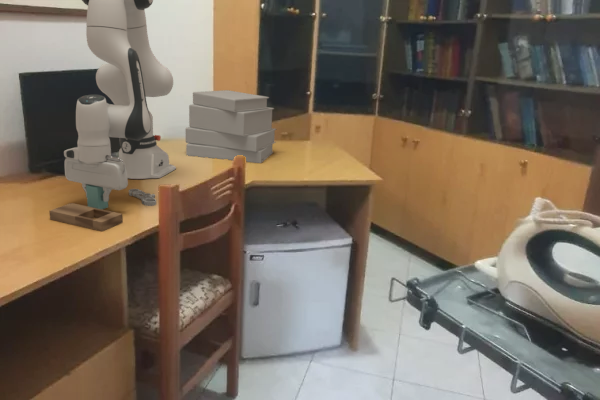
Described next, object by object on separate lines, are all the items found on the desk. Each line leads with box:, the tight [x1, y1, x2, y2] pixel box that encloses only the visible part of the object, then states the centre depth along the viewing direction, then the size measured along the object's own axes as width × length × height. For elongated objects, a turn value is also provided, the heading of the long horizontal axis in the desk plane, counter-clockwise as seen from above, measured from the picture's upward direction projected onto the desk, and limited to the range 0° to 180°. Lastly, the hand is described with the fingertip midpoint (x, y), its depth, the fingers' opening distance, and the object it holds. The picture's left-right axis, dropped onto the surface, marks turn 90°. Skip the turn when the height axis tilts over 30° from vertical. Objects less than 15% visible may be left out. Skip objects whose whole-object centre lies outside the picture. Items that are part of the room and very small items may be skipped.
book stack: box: [185, 89, 277, 164], centre depth 231 cm, size 30×35×26 cm
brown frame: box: [48, 202, 124, 232], centre depth 148 cm, size 8×18×2 cm, turn 67°
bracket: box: [128, 188, 157, 207], centre depth 170 cm, size 8×2×15 cm
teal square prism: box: [86, 185, 109, 210], centre depth 158 cm, size 4×4×7 cm
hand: (97, 199), depth 159 cm, fingers closed on teal square prism, 4 cm apart
